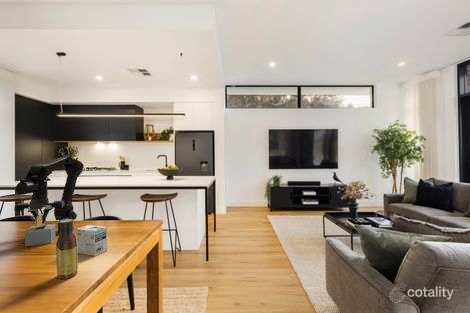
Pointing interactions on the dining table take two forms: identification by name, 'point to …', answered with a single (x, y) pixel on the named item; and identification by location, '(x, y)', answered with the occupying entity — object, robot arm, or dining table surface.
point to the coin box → (40, 235)
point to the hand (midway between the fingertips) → (40, 223)
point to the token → (40, 220)
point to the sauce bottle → (66, 250)
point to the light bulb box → (91, 240)
